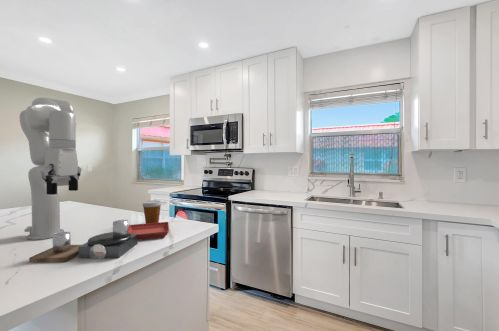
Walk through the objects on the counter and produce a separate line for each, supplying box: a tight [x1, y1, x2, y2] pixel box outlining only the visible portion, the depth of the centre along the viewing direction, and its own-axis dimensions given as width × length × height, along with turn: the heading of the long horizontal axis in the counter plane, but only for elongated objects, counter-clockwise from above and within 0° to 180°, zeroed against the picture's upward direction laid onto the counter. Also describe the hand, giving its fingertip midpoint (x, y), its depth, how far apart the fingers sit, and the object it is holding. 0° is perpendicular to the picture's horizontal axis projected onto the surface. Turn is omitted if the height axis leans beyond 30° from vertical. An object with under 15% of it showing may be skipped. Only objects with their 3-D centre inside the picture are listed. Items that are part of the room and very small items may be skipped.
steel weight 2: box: [112, 219, 129, 239], centre depth 88 cm, size 5×5×6 cm
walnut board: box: [28, 244, 82, 263], centre depth 84 cm, size 12×12×2 cm
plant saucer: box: [128, 221, 170, 241], centre depth 108 cm, size 18×18×3 cm
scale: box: [77, 231, 139, 260], centre depth 87 cm, size 14×15×6 cm
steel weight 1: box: [52, 231, 72, 253], centre depth 84 cm, size 5×5×6 cm
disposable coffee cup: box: [142, 200, 162, 224], centre depth 125 cm, size 10×10×12 cm
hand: (63, 192), depth 85 cm, fingers open, 9 cm apart
